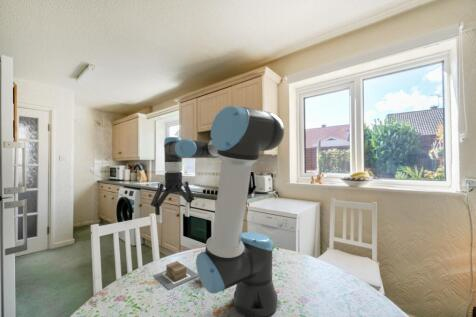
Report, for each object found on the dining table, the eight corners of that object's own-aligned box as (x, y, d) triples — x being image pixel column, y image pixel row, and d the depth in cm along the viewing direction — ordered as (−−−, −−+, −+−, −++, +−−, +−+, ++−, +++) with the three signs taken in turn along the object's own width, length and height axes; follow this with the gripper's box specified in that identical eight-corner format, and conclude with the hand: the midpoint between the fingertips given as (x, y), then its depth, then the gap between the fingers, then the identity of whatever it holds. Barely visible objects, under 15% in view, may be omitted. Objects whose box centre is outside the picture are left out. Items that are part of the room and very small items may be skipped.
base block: (186, 276, 91) (186, 267, 91) (175, 281, 88) (175, 271, 88) (176, 269, 97) (176, 261, 97) (166, 274, 94) (166, 264, 94)
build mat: (199, 276, 92) (199, 275, 92) (168, 290, 83) (168, 289, 83) (182, 265, 102) (182, 264, 102) (153, 276, 93) (153, 275, 93)
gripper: (192, 170, 109) (192, 212, 109) (142, 172, 91) (142, 223, 91) (201, 170, 104) (201, 215, 104) (149, 173, 86) (150, 227, 86)
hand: (174, 219), depth 97 cm, fingers open, 13 cm apart
